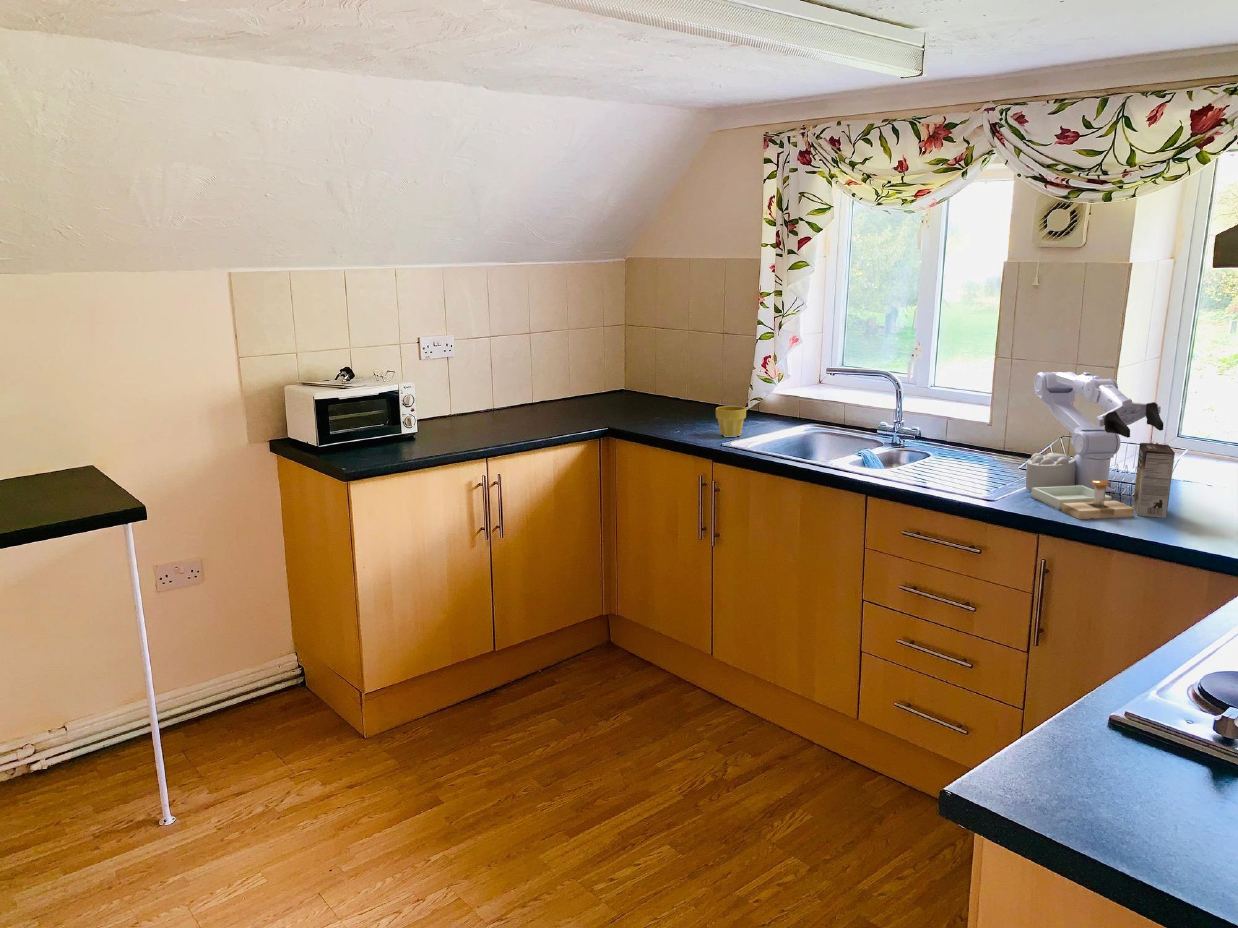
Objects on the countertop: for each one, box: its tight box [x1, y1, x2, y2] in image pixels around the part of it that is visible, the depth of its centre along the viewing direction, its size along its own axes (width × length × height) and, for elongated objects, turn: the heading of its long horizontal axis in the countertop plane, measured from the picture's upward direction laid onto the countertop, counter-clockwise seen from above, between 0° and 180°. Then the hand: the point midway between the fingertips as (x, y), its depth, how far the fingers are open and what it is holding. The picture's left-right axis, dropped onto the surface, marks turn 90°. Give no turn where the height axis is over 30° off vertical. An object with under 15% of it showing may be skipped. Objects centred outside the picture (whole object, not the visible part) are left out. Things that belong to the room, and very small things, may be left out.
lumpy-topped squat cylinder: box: [1025, 452, 1076, 491], centre depth 251 cm, size 10×13×9 cm
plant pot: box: [715, 405, 747, 436], centre depth 323 cm, size 10×10×10 cm
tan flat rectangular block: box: [1061, 500, 1136, 520], centre depth 227 cm, size 7×14×2 cm, turn 98°
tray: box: [1030, 485, 1113, 510], centre depth 237 cm, size 12×14×2 cm
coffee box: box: [1132, 442, 1176, 519], centre depth 226 cm, size 9×6×16 cm
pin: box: [1091, 480, 1111, 508], centre depth 226 cm, size 4×4×8 cm
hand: (1145, 430), depth 224 cm, fingers open, 7 cm apart
